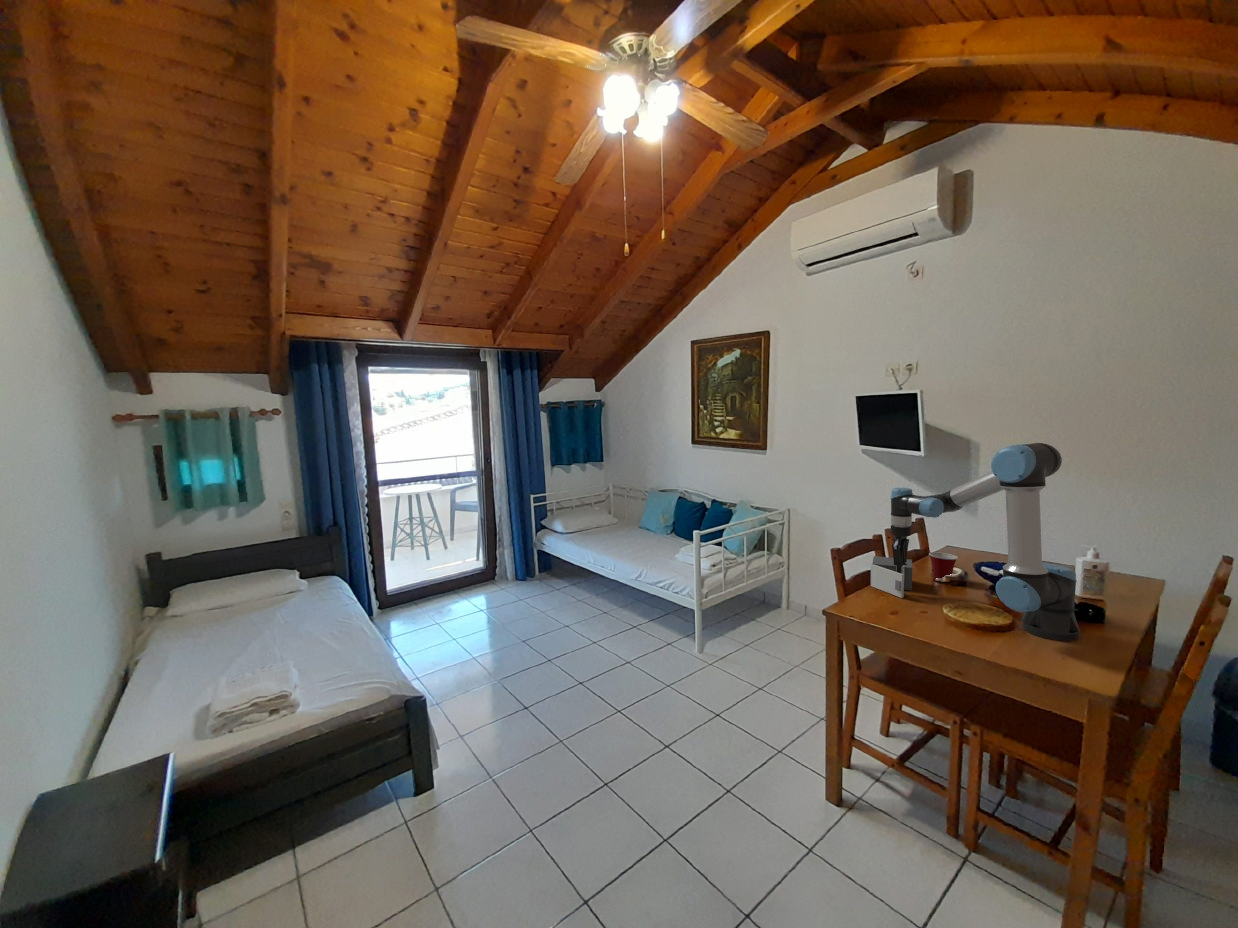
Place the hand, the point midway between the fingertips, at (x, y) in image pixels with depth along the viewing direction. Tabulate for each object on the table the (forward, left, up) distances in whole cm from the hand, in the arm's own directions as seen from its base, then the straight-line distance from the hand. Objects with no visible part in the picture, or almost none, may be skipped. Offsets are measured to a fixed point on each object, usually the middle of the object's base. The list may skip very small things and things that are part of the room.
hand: (899, 580), depth 207 cm
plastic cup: (+22, -17, -6) cm, 28 cm away
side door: (-1, +5, -5) cm, 7 cm away
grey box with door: (+10, +3, -5) cm, 12 cm away
